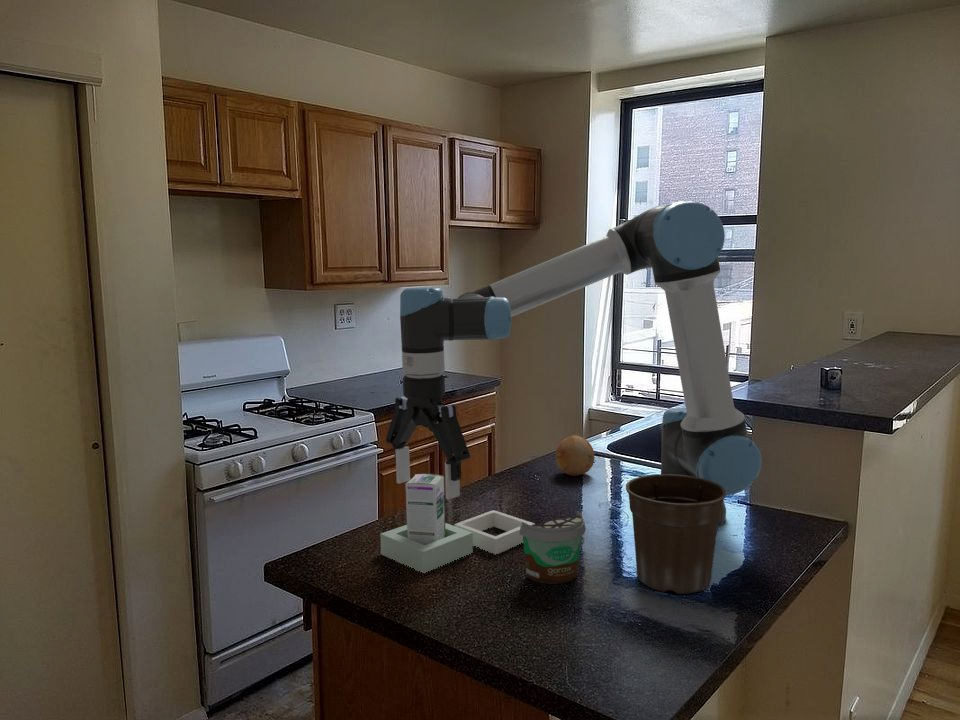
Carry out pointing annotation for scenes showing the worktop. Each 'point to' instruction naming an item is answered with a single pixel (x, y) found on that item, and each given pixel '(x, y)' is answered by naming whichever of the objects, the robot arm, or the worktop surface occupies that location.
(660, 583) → the plant pot
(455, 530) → the socket
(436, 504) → the syrup box
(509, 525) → the frame
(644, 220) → the robot arm
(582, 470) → the onion
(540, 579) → the food container
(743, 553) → the worktop surface
